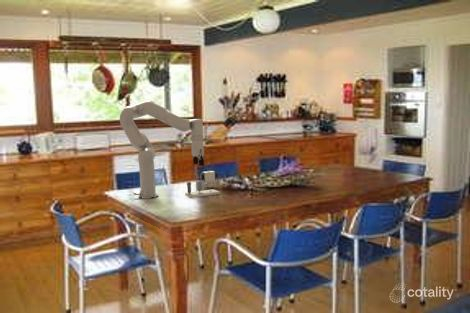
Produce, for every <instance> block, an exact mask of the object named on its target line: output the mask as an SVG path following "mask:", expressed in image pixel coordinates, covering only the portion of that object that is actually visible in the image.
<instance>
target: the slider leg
mask: <svg viewBox="0 0 470 313" xmlns="http://www.w3.org/2000/svg"><path fill="white" fill-rule="evenodd" d="M195 183H196V184H195V189H196V190H195V191H199V192H200V191H204V190H203V181H202V180H195Z"/></svg>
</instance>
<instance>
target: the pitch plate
mask: <svg viewBox="0 0 470 313" xmlns="http://www.w3.org/2000/svg"><path fill="white" fill-rule="evenodd" d="M186 186H187V192H185V193H184V194H185V196H186V197H188V198H193V199H194V198H199V197H206V196H207V197H208V196H214V195H220V194H221V193H220V191H218V190H216V189H206V190H205V189H204V190H203V191H200V192H199V191H197V190H195V191H192V183H191V181H187V182H186Z"/></svg>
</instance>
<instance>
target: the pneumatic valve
mask: <svg viewBox="0 0 470 313" xmlns="http://www.w3.org/2000/svg"><path fill="white" fill-rule="evenodd" d="M217 179H218V173H217V172H216V171H215V170H210V169H209V170H207V171H201V172H200V174H199V181H202V182H204V186H205V188H213V186H214V183H213V181H217Z"/></svg>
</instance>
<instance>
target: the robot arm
mask: <svg viewBox="0 0 470 313" xmlns="http://www.w3.org/2000/svg"><path fill="white" fill-rule="evenodd" d="M144 116H149V117H151V118H154V119H156V120H158V121H160V122H162V123H163V124H166V125H167V126H170V127H172V128H174V129H176V130H178V131H180V132H187V131H191V132H190V134H191V156H192V161H193V164H192V165H198V166H200V167H203V166H204V165H205V152H204V151H205V149H204V123H203V119H201V118H193V119H190V118H182V117H181V116H178V115H176V114H174V113H173V112H171V111H170V109H167V108H165V107H163V106H161V105H159V104H157V103H155V102H154V101H152V100H150V99H149V100H145V101H143V102H140V103H137V104H134V105H133V104H132V105H128V106H126V107H124V108H123V109H122V111H121V113H120V115H119V124H120V127H121V128H122V130H123V132H124V133H125V135H126V138H127V139H128V140H129V143H130V144H131V146H132V147H133V148H135V149H136V150H137V151H138V157H137V160H138V166H139V168H138V169H139V182H140V183H139V184H140V189H139V190H138V191H135V192H133V196H138V198H139V197H143V198H142V199H145V198H146V199H152V198H151V197H155V198H157V197H156V196H158V197H159V194H158V193H156V192H157V190H156V175H155V173H156V170H155V161H154V160H155V157H156V150H155V148H154V147H153V145H152V143H151V142H150V140H149V138H148V137H147V135H146V134H145V133H143V132H141V130H139V128H138V126H137V124H136V123H135V121H134V120H135V119H137V118H140V117H144Z"/></svg>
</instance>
